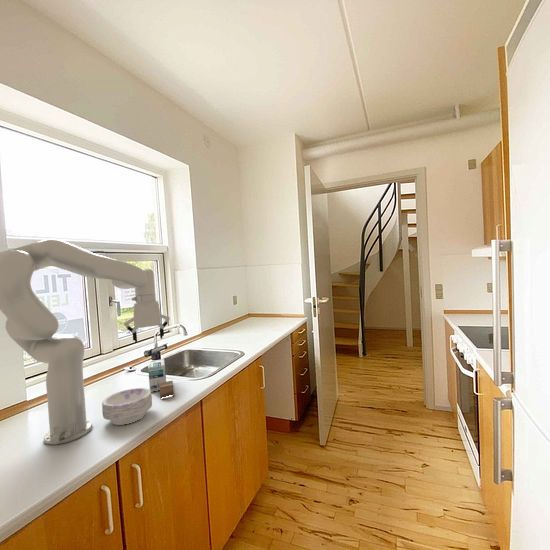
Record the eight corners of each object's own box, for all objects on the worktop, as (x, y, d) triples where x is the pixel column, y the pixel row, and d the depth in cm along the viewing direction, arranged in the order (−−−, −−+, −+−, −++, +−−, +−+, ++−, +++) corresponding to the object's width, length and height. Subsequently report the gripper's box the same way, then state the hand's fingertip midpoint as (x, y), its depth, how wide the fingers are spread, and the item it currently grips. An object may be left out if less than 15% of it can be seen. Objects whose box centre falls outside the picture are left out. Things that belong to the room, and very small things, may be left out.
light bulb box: (166, 390, 123) (165, 364, 123) (149, 393, 120) (147, 367, 120) (166, 381, 133) (164, 358, 133) (150, 384, 130) (148, 360, 130)
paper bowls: (147, 404, 110) (146, 383, 110) (157, 419, 98) (155, 396, 98) (101, 417, 102) (100, 395, 101) (105, 436, 89) (103, 411, 89)
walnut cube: (174, 396, 115) (173, 384, 115) (160, 399, 114) (159, 387, 113) (173, 392, 120) (172, 380, 120) (160, 395, 118) (159, 383, 118)
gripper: (121, 301, 112) (125, 345, 113) (168, 297, 120) (171, 338, 120) (122, 300, 119) (125, 341, 119) (167, 296, 127) (170, 335, 127)
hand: (149, 340), depth 120 cm, fingers open, 9 cm apart
